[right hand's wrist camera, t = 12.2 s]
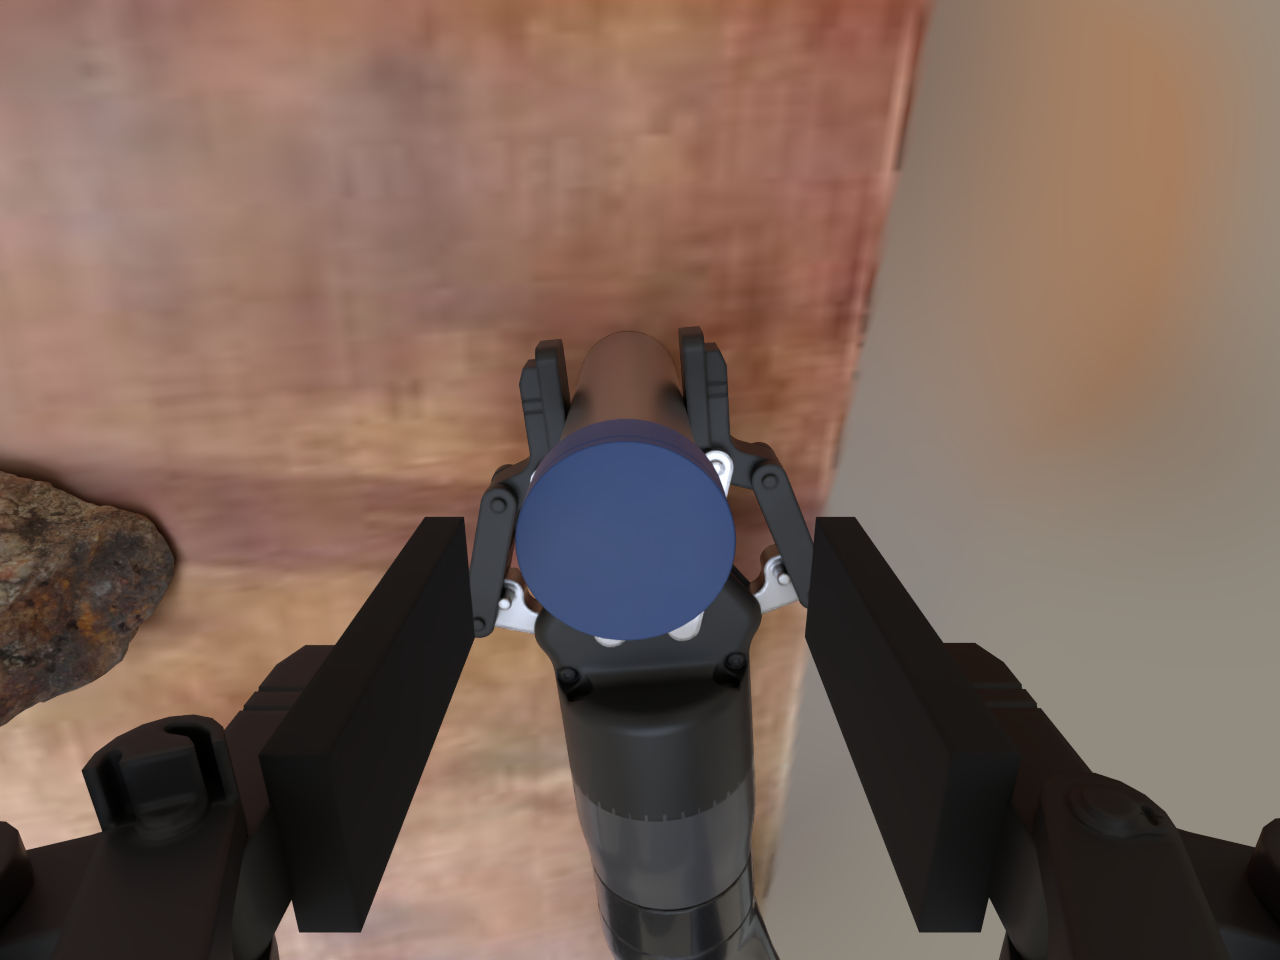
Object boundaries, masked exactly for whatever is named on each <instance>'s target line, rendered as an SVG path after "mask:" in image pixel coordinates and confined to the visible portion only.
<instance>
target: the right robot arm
mask: <svg viewBox="0 0 1280 960" xmlns="http://www.w3.org/2000/svg"><path fill="white" fill-rule="evenodd" d="M474 638H475V631H474V620H473V609H472V599H471V588H470V577H469V566H468V556H467V545H466V534H465V524H464V517H425V518H424V519H423V521H422V522H421V524H420V525H419V526H418V528H417V529H416V531H415V532H414V534H413V535H412V536H411V538H410V539H409V541H408V542H407V544H406V545H405V546H404V548H403V549H402V551H401V552H400V553H399V555H398V556H397V558H396V559H395V561H394V562H393V563H392V565H391V566H390V568H389V569H388V571H387V572H386V573H385V575H384V576H383V578H382V579H381V581H380V582H379V583H378V585H377V586H376V588H375V589H374V591H373V592H372V593H371V595H370V596H369V598H368V599H367V600H366V602H365V603H364V605H363V606H362V608H361V609H360V610H359V612H358V613H357V615H356V616H355V618H354V619H353V620H352V622H351V623H350V625H349V626H348V628H347V629H346V630H345V632H344V633H343V635H342V636H341V638H340V639H339V640H338V642H337V643H336V645H305V646H303V647H302V648H301V649H299V650H298V651H296V652H295V653H293V654H292V655H290V656H289V657H287V658H286V659H284V660H283V661H281V662H280V663H278V664H277V665H276V666H275V667H274V669H273V670H272V671H271V672H270V674H269V675H268V676H267V677H266V679H265V680H264V681H263V682H262V684H261V685H260V686H259V691H258V692H254V694H253V695H252V696H251V697H250V699H249V700H248V701H247V702H246V704H245V705H244V709H243V711H239V712H238V714H237V715H236V716H235V717H234V719H233V720H232V721H231V722H230V724H229V725H228V726H227V727H226V729H225V730H224V729H223V726H221V725H220V724H219V723H218V722H216V721H215V720H214V719H213V718H209V717H204V716H199V715H183V716H172V717H167V718H163V719H160V720H157V721H153V722H150V723H146V724H143V725H141V726H139V727H137V728H135V729H132V730H130V731H128V732H126V733H124V734H122V735H120V736H118V737H116V738H115V739H114V740H112V741H111V742H109V743H108V744H107V745H105V746H104V747H103V748H101V749H100V750H99V751H97V752H96V753H95V754H94V755H93V756H92V758H91V759H90V760H89V762H88V763H87V764H86V765H85V767H84V768H83V769H82V773H83V776H84V779H85V782H86V785H87V788H88V791H89V794H90V797H91V800H92V803H93V805H94V808H95V811H96V814H97V817H98V820H99V823H100V826H101V829H102V832H100V833H96V834H93V835H89V836H85V837H81V838H77V839H72V840H68V841H64V842H60V843H55V844H51V845H47V846H42V847H38V848H34V849H30V850H26V849H25V847H24V844H23V842H22V839H21V837H20V834H19V832H18V830H17V829H15V828H14V827H13V826H11V825H10V824H8V823H7V822H3V821H0V960H279V953H278V946H277V942H276V938H275V934H274V933H275V931H276V929H277V927H278V925H279V923H280V921H281V919H282V917H283V915H284V913H285V912H286V910H287V908H288V906H289V904H290V902H291V900H292V903H293V908H294V912H295V916H296V920H297V925H298V929H299V932H361V930H362V928H363V925H364V923H365V920H366V917H367V915H368V912H369V910H370V907H371V905H372V902H373V899H374V897H375V894H376V892H377V889H378V886H379V884H380V881H381V879H382V876H383V874H384V871H385V868H386V866H387V863H388V861H389V858H390V855H391V853H392V850H393V848H394V845H395V843H396V840H397V837H398V835H399V832H400V830H401V827H402V824H403V822H404V819H405V817H406V814H407V812H408V809H409V806H410V804H411V801H412V799H413V796H414V793H415V791H416V788H417V786H418V783H419V781H420V778H421V775H422V773H423V770H424V768H425V765H426V762H427V760H428V757H429V755H430V752H431V750H432V747H433V744H434V742H435V739H436V737H437V734H438V731H439V729H440V726H441V724H442V721H443V719H444V716H445V713H446V711H447V708H448V706H449V703H450V700H451V698H452V695H453V693H454V690H455V688H456V685H457V682H458V680H459V677H460V675H461V672H462V669H463V667H464V664H465V662H466V659H467V657H468V654H469V651H470V649H471V646H472V644H473V641H474ZM805 638H806V641H807V644H808V646H809V649H810V651H811V654H812V657H813V659H814V662H815V664H816V667H817V669H818V672H819V675H820V677H821V680H822V682H823V685H824V687H825V690H826V693H827V695H828V698H829V700H830V703H831V706H832V708H833V711H834V713H835V716H836V719H837V721H838V724H839V726H840V729H841V731H842V734H843V737H844V739H845V742H846V744H847V747H848V750H849V752H850V755H851V757H852V760H853V762H854V765H855V768H856V770H857V773H858V775H859V778H860V780H861V783H862V786H863V788H864V791H865V793H866V796H867V798H868V801H869V804H870V806H871V809H872V811H873V814H874V817H875V819H876V822H877V824H878V827H879V830H880V832H881V835H882V837H883V840H884V843H885V845H886V848H887V850H888V853H889V855H890V858H891V861H892V863H893V866H894V868H895V871H896V873H897V876H898V879H899V881H900V884H901V886H902V889H903V892H904V894H905V897H906V899H907V902H908V905H909V907H910V910H911V912H912V915H913V917H914V920H915V922H916V925H917V928H918V930H919V932H981V929H982V925H983V920H984V916H985V912H986V908H987V903H988V899H989V898H990V900H991V902H992V904H993V906H994V908H995V910H996V912H997V914H998V916H999V918H1000V920H1001V922H1002V924H1003V926H1004V928H1005V929H1006V934H1005V938H1004V942H1003V946H1002V950H1001V954H1000V958H999V960H1280V818H1277V819H1274V820H1273V821H1271V822H1270V823H1269V824H1267V825H1266V826H1264V827H1263V829H1262V832H1261V834H1260V837H1259V839H1258V842H1257V844H1256V847H1251V846H1247V845H1242V844H1238V843H1234V842H1230V841H1225V840H1221V839H1217V838H1213V837H1208V836H1204V835H1199V834H1195V833H1191V832H1188V831H1184V830H1181V829H1178V828H1176V827H1175V825H1174V824H1173V822H1172V821H1171V819H1170V818H1169V816H1168V815H1167V814H1166V812H1165V811H1164V810H1163V809H1161V808H1160V807H1159V806H1158V805H1157V804H1155V803H1154V802H1153V801H1152V800H1151V799H1150V798H1148V797H1147V796H1146V795H1145V794H1143V793H1141V792H1139V791H1137V790H1136V789H1134V788H1132V787H1130V786H1128V785H1126V784H1125V783H1123V782H1121V781H1118V780H1115V779H1112V778H1109V777H1106V776H1103V775H1100V774H1097V773H1093V772H1092V771H1091V770H1090V769H1089V768H1088V766H1087V765H1086V764H1085V763H1084V761H1083V760H1082V759H1081V758H1080V756H1079V755H1078V754H1077V753H1076V751H1075V750H1074V749H1073V748H1072V746H1071V745H1070V744H1069V743H1068V742H1067V740H1066V739H1065V738H1064V736H1063V735H1062V734H1061V733H1060V732H1059V730H1058V729H1057V728H1056V727H1055V725H1054V724H1053V723H1052V722H1051V720H1050V719H1049V718H1048V717H1047V715H1046V714H1045V713H1044V712H1043V710H1042V709H1041V708H1037V703H1036V702H1035V700H1034V699H1033V698H1032V697H1031V696H1030V694H1029V693H1028V692H1027V691H1026V689H1022V684H1021V683H1020V682H1019V681H1018V679H1017V678H1016V677H1015V676H1014V674H1013V673H1012V672H1011V671H1010V669H1009V668H1008V667H1007V666H1006V665H1005V663H1004V662H1003V661H1001V660H1000V659H998V658H997V657H995V656H994V655H992V654H991V653H989V652H988V651H986V650H985V649H983V648H982V647H980V646H979V645H977V644H976V643H943V642H942V640H941V639H940V638H939V636H938V635H937V633H936V632H935V630H934V629H933V628H932V626H931V625H930V623H929V622H928V620H927V619H926V618H925V616H924V615H923V613H922V612H921V610H920V609H919V608H918V606H917V605H916V603H915V602H914V601H913V599H912V598H911V596H910V595H909V593H908V592H907V591H906V589H905V588H904V586H903V585H902V583H901V582H900V581H899V579H898V578H897V576H896V575H895V573H894V572H893V571H892V569H891V568H890V566H889V565H888V563H887V562H886V561H885V559H884V558H883V556H882V555H881V553H880V552H879V551H878V549H877V548H876V546H875V545H874V544H873V542H872V541H871V539H870V538H869V536H868V535H867V534H866V532H865V531H864V529H863V528H862V526H861V525H860V524H859V522H858V521H857V519H856V518H855V517H816V524H815V534H814V545H813V556H812V566H811V577H810V588H809V599H808V609H807V620H806V631H805Z"/></svg>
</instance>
